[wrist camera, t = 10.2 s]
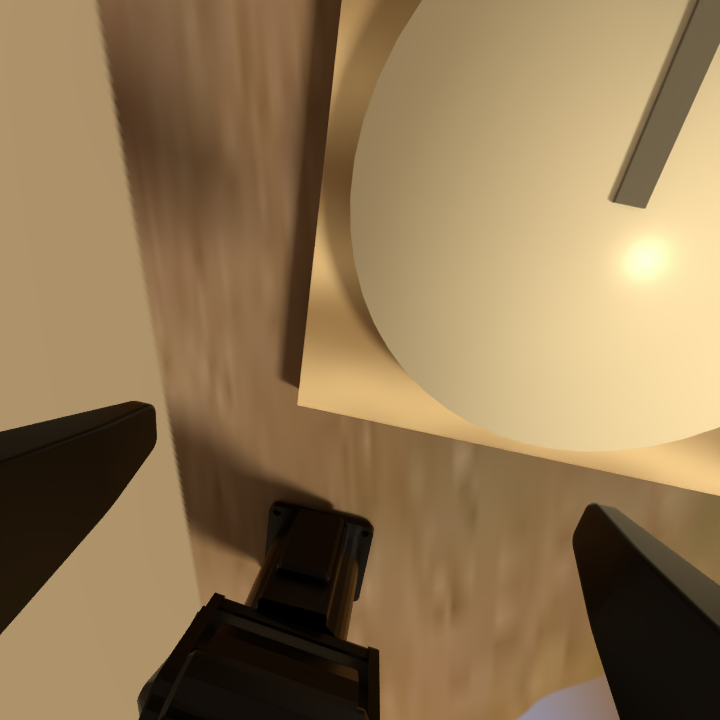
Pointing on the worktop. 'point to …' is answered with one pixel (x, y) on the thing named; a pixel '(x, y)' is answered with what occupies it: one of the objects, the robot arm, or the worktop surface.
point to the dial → (549, 216)
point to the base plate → (353, 320)
